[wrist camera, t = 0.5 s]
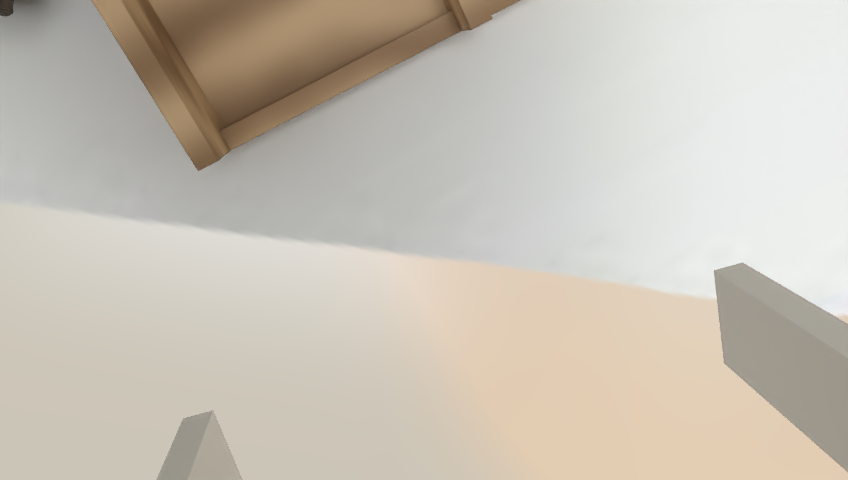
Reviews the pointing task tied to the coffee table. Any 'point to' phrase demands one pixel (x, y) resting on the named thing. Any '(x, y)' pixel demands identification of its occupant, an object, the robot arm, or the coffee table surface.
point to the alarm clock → (6, 7)
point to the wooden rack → (269, 56)
